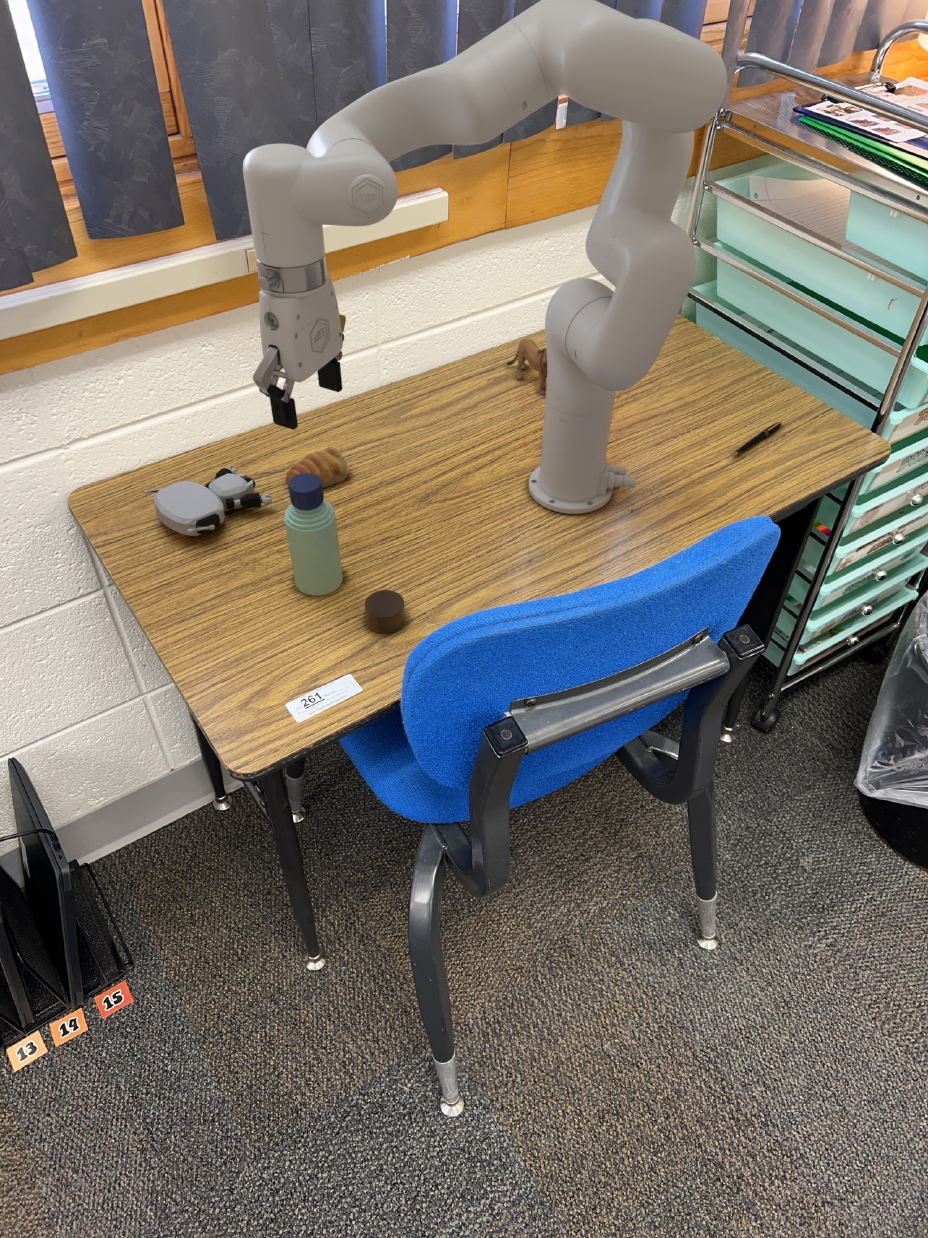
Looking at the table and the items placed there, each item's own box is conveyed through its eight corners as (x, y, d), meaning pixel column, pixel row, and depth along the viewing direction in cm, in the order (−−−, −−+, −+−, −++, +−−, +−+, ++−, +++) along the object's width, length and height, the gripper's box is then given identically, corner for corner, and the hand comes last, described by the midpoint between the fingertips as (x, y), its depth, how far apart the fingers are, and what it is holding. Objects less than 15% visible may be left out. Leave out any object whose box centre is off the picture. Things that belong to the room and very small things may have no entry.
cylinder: (407, 607, 119) (406, 590, 117) (402, 634, 116) (401, 618, 114) (369, 605, 120) (367, 588, 118) (363, 632, 116) (361, 615, 114)
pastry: (301, 501, 136) (297, 479, 133) (277, 480, 139) (274, 459, 137) (354, 477, 140) (351, 456, 137) (329, 458, 144) (327, 437, 141)
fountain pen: (733, 461, 143) (735, 453, 142) (727, 458, 144) (729, 450, 143) (783, 427, 151) (785, 419, 149) (777, 424, 151) (779, 416, 150)
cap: (326, 491, 115) (324, 473, 113) (320, 511, 112) (318, 493, 110) (294, 490, 115) (292, 472, 114) (288, 509, 113) (285, 491, 111)
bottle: (346, 565, 125) (335, 471, 114) (338, 597, 121) (326, 502, 110) (300, 563, 126) (285, 469, 115) (290, 594, 121) (274, 500, 110)
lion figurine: (577, 392, 158) (582, 344, 152) (557, 403, 155) (561, 355, 149) (515, 361, 165) (518, 314, 159) (495, 371, 163) (496, 324, 157)
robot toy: (233, 480, 141) (144, 514, 133) (230, 454, 138) (138, 488, 130) (279, 516, 134) (188, 555, 126) (277, 490, 131) (183, 528, 123)
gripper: (274, 309, 94) (293, 450, 106) (363, 248, 105) (371, 382, 117) (215, 293, 96) (241, 433, 108) (308, 236, 108) (322, 368, 120)
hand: (308, 406), depth 113 cm, fingers open, 9 cm apart
